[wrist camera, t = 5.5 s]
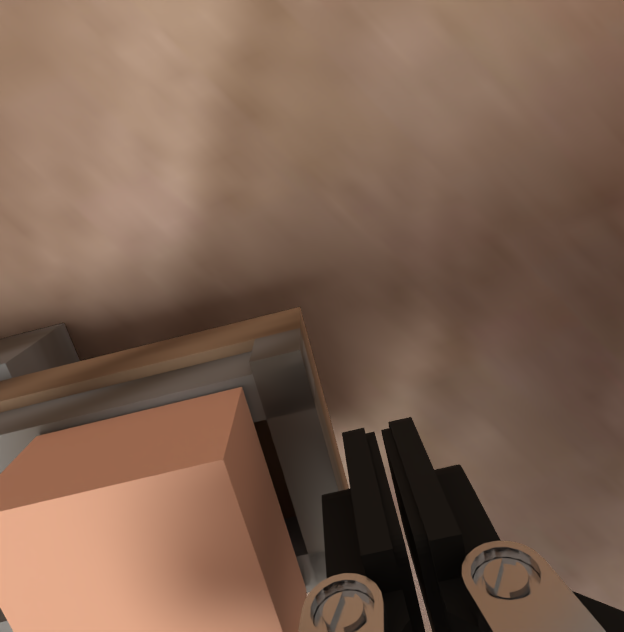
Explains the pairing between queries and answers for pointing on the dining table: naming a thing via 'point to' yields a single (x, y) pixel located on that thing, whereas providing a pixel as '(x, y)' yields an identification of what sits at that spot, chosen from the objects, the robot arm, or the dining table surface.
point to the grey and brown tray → (183, 384)
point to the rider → (148, 527)
